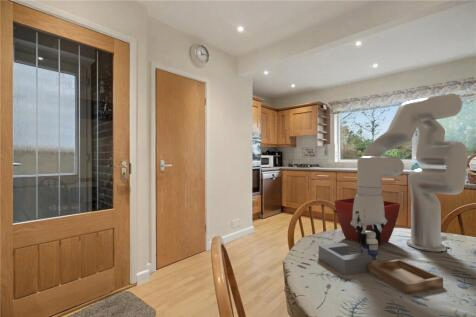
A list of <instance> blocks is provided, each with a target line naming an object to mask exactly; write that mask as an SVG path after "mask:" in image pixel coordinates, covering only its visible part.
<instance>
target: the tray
mask: <svg viewBox="0 0 476 317" xmlns="http://www.w3.org/2000/svg"><path fill="white" fill-rule="evenodd" d="M367 273H369V274H370V275H371V276H374V277H376V278H377V279H379V280H381V281H382V282H385V283H387V284H389V285H391V286H392V287H393V288H396V289H397V290H399V291H401V292H403V293H404V294H406V295H411V294H416V293H421V292H424V291H425V292H426V291H430V290H435V289H439V288H443V287H444V277H443V276H440V275H437V274H436V273H433V272H431V271H428V270H426V269H423V268H421V267H419V266H416V265H415V264H412V263H409V262H407V261H405V260H403V259H398V258H397V259H393V260H386V261H380V262H378V261H377V262H376V263H371V264H368V271H367Z"/></svg>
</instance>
